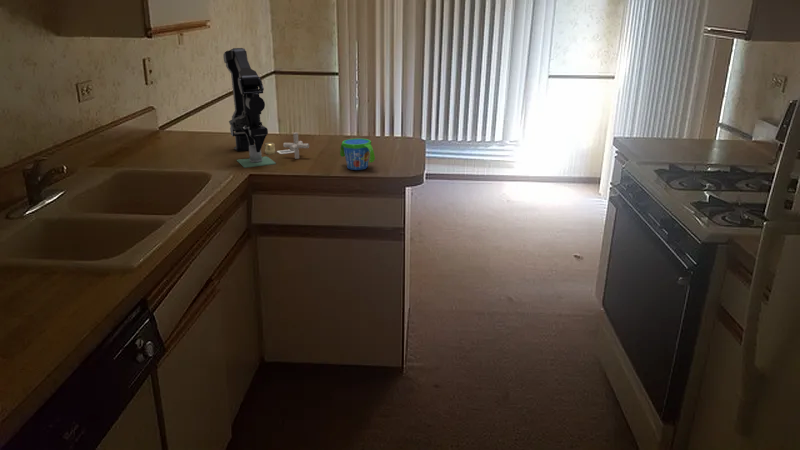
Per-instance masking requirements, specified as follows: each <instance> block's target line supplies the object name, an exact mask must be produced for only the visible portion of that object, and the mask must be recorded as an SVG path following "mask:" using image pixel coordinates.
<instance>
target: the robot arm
mask: <svg viewBox="0 0 800 450" xmlns="http://www.w3.org/2000/svg"><path fill="white" fill-rule="evenodd" d="M223 62H224V64H225V67H226V69H227V70H228V72H229V73H230V75H231V87H232V93H233V94H232V96H233V102H234V103H233V105H234V112H233V113H232V116H231V119H230V120H229V121H228V123H229V125H230V128H229V130H230V135H231V137H235V138H234V139H235V146H234V147H233V149H234V150H235V151H237V152H245V151H249V146H250V145H255V147H256V151H257V152H260V150H261V151H262V147H263V145H264V142H265V139H266V137H267V136H268V134H269V130H268V128H267V127H266V126H265V125H263V122H262V121H261V115H262V111H264V110H265V107H266V103H265V100H264V99H263V98H262V97H261V96H260V94H264V91H265V90H264V89H265V88H264V84H263V82H262V81H263V80H262V79H261V77H260V76H259V75H258V73H257V71H256V70H254V69H252V68H251V67H252V66H251V65H250V62H249V60H248V52H247V50H246V49H245V48H244V47H233V48H231V49H230V50H226V51H224V53H223Z"/></svg>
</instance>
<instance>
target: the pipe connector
mask: <svg viewBox="0 0 800 450" xmlns="http://www.w3.org/2000/svg"><path fill="white" fill-rule="evenodd" d="M292 137H293V142H283V148H289V149H290V150H291V151H293V150H294V160H295V159H296V160H297V159H300V149H309V148H310V143H304V142H303V141H302V140H299V132H293V133H292ZM289 149H288V150H289Z"/></svg>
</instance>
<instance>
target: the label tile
mask: <svg viewBox="0 0 800 450" xmlns="http://www.w3.org/2000/svg"><path fill="white" fill-rule="evenodd" d="M276 153H277V154H279V155H286V154H293V153H294V150H293V151H291V150H290V149H283V150H276Z"/></svg>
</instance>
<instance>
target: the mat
mask: <svg viewBox="0 0 800 450" xmlns="http://www.w3.org/2000/svg"><path fill="white" fill-rule="evenodd" d="M236 161H237V163H239V164H240V165H241V166H242V167H243V168H244V169H247V168H253V167H254V168H256V167H263V166H271V165H272V166H273V165H277V163H276V161H274V160H273V159H271V158H270V157H269V156H262V162H259V163H251V162H250V157H249V158H243V159H242V158H241V159H236Z"/></svg>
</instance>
